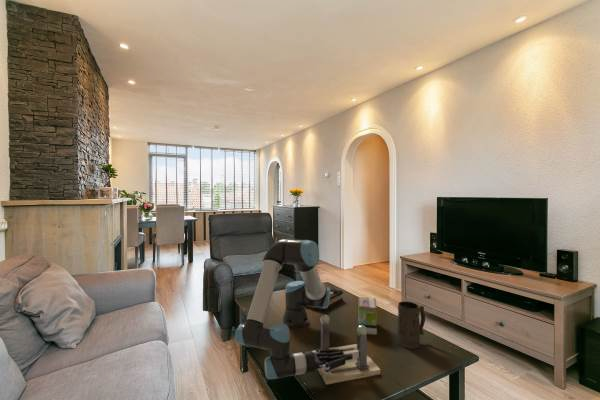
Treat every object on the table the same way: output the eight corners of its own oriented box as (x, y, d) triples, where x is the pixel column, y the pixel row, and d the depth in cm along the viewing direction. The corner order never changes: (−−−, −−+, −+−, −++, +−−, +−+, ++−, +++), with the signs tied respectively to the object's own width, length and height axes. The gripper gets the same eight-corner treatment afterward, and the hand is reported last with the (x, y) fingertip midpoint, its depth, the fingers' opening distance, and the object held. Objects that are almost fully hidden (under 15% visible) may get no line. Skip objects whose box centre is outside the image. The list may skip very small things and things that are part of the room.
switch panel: (310, 355, 131) (310, 350, 131) (357, 347, 137) (357, 343, 137) (326, 384, 111) (326, 378, 111) (380, 374, 117) (380, 368, 117)
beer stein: (408, 351, 134) (410, 309, 134) (391, 341, 143) (393, 301, 144) (430, 345, 141) (432, 305, 141) (412, 336, 150) (414, 298, 151)
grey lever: (318, 350, 131) (318, 313, 130) (327, 349, 132) (327, 312, 132) (322, 356, 127) (321, 317, 126) (331, 354, 128) (331, 316, 127)
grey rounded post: (354, 364, 120) (354, 323, 120) (364, 362, 121) (364, 322, 121) (359, 370, 116) (359, 328, 116) (369, 368, 117) (369, 327, 117)
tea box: (377, 335, 150) (377, 307, 150) (358, 333, 152) (358, 306, 152) (375, 322, 165) (375, 297, 164) (358, 321, 167) (358, 296, 166)
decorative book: (298, 295, 190) (323, 284, 213) (298, 306, 190) (323, 294, 213) (321, 301, 178) (346, 289, 201) (321, 313, 178) (346, 300, 201)
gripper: (299, 362, 118) (351, 354, 124) (308, 382, 106) (365, 371, 112) (299, 344, 118) (351, 337, 124) (308, 362, 106) (365, 353, 112)
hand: (358, 353), depth 118 cm, fingers closed
